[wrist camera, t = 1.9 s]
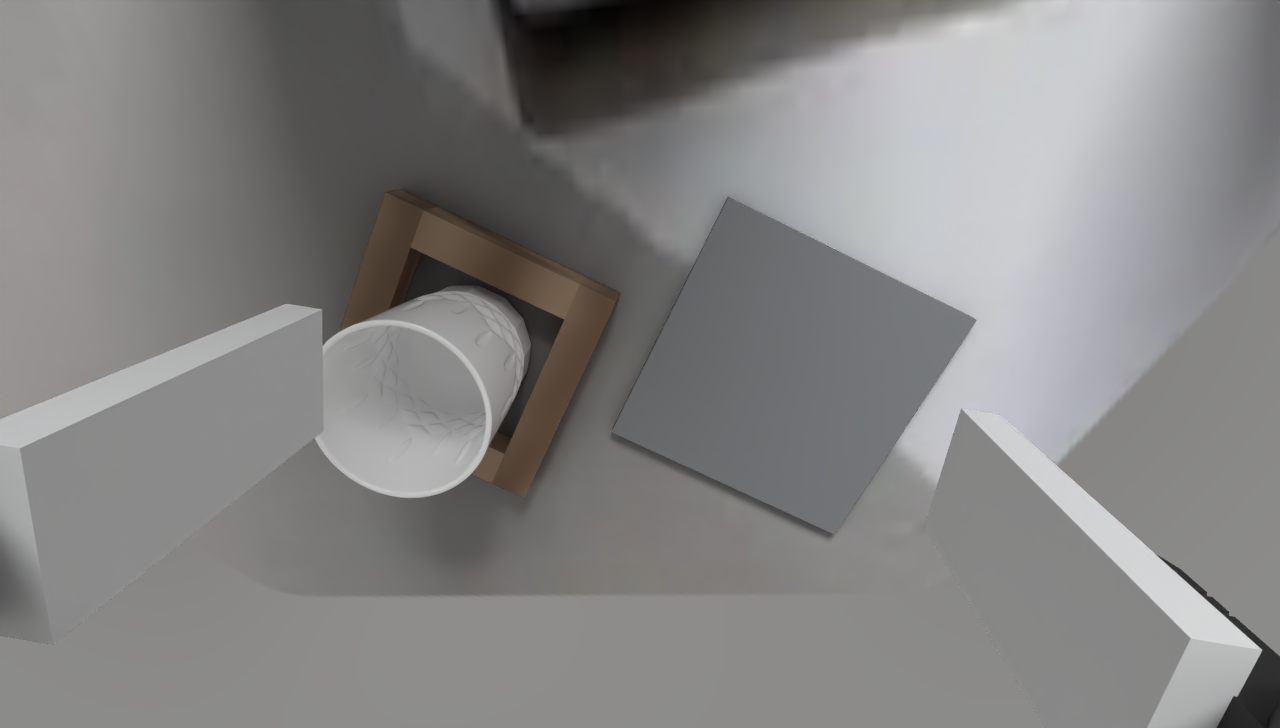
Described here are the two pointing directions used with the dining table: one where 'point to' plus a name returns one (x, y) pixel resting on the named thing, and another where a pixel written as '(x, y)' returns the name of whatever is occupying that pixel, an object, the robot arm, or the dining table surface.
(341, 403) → the white cup
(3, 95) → the dining table surface
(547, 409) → the walnut collar
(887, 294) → the grey mat
